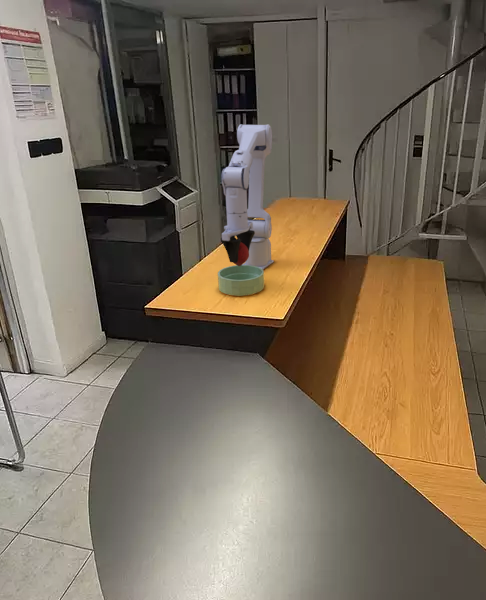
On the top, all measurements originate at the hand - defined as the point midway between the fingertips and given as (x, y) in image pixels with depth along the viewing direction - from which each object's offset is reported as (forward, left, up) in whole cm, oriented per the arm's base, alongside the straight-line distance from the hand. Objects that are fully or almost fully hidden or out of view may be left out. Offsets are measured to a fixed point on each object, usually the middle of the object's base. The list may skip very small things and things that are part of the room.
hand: (239, 258), depth 138 cm
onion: (0, 0, -2) cm, 2 cm away
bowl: (0, 0, -9) cm, 9 cm away
